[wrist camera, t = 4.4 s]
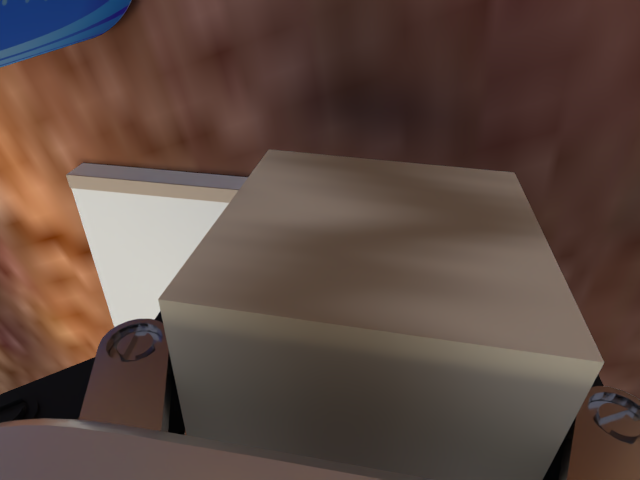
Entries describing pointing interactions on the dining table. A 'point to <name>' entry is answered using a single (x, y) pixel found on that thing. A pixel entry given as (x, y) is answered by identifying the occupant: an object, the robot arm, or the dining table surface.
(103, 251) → the base board
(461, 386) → the maple cube
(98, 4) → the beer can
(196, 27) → the dining table surface
